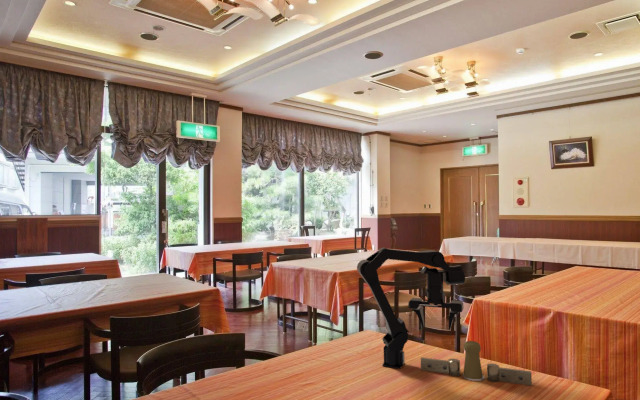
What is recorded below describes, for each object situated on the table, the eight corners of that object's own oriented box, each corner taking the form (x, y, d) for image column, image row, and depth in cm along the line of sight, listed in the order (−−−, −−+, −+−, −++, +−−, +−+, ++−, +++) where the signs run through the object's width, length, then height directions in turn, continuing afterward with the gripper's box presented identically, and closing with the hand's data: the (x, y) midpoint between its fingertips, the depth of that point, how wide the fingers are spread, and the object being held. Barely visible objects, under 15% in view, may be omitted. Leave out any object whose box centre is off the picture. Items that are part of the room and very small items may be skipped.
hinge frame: (419, 373, 140) (419, 359, 140) (423, 366, 146) (422, 353, 146) (532, 389, 126) (531, 374, 126) (531, 380, 132) (530, 366, 132)
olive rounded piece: (486, 378, 134) (485, 344, 134) (469, 380, 133) (468, 345, 133) (476, 371, 140) (475, 338, 140) (459, 372, 139) (459, 339, 139)
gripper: (464, 282, 153) (465, 325, 153) (413, 280, 161) (415, 320, 161) (461, 288, 143) (462, 333, 143) (407, 285, 151) (408, 328, 151)
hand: (436, 328), depth 150 cm, fingers open, 9 cm apart
